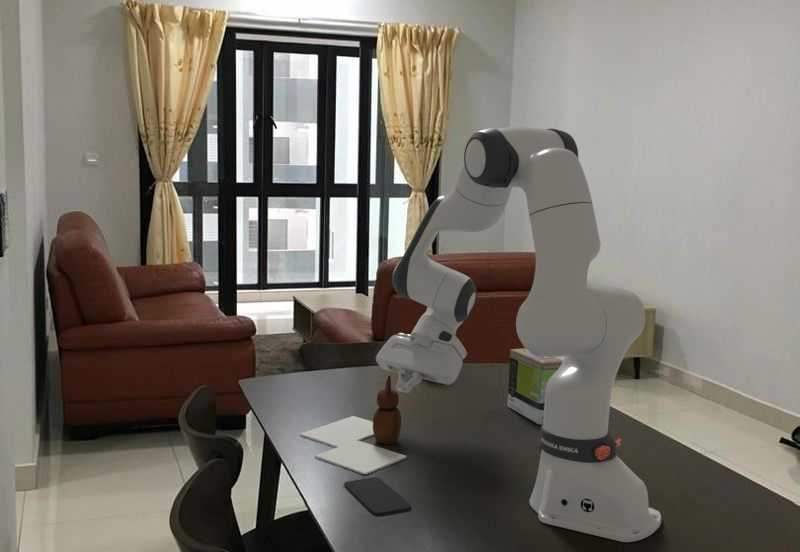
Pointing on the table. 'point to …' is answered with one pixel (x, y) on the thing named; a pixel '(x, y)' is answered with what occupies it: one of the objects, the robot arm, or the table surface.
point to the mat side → (360, 457)
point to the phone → (377, 496)
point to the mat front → (341, 431)
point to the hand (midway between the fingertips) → (401, 390)
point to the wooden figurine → (387, 416)
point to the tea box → (530, 382)
